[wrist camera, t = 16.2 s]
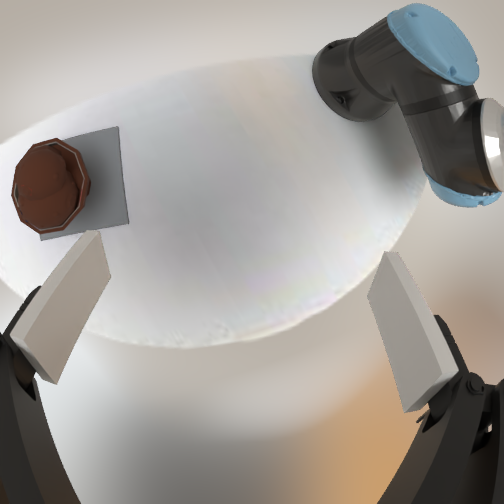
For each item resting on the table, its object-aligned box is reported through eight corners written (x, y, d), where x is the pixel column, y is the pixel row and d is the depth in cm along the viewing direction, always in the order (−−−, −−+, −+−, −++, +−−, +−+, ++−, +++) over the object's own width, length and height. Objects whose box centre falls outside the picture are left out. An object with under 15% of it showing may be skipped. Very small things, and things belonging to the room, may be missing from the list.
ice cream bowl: (41, 157, 32) (-16, 148, 18) (107, 142, 34) (68, 120, 20) (47, 227, 35) (-8, 248, 20) (112, 216, 37) (75, 234, 23)
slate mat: (118, 127, 35) (117, 126, 34) (129, 223, 38) (128, 223, 38) (31, 150, 32) (30, 150, 31) (42, 240, 35) (40, 240, 35)
